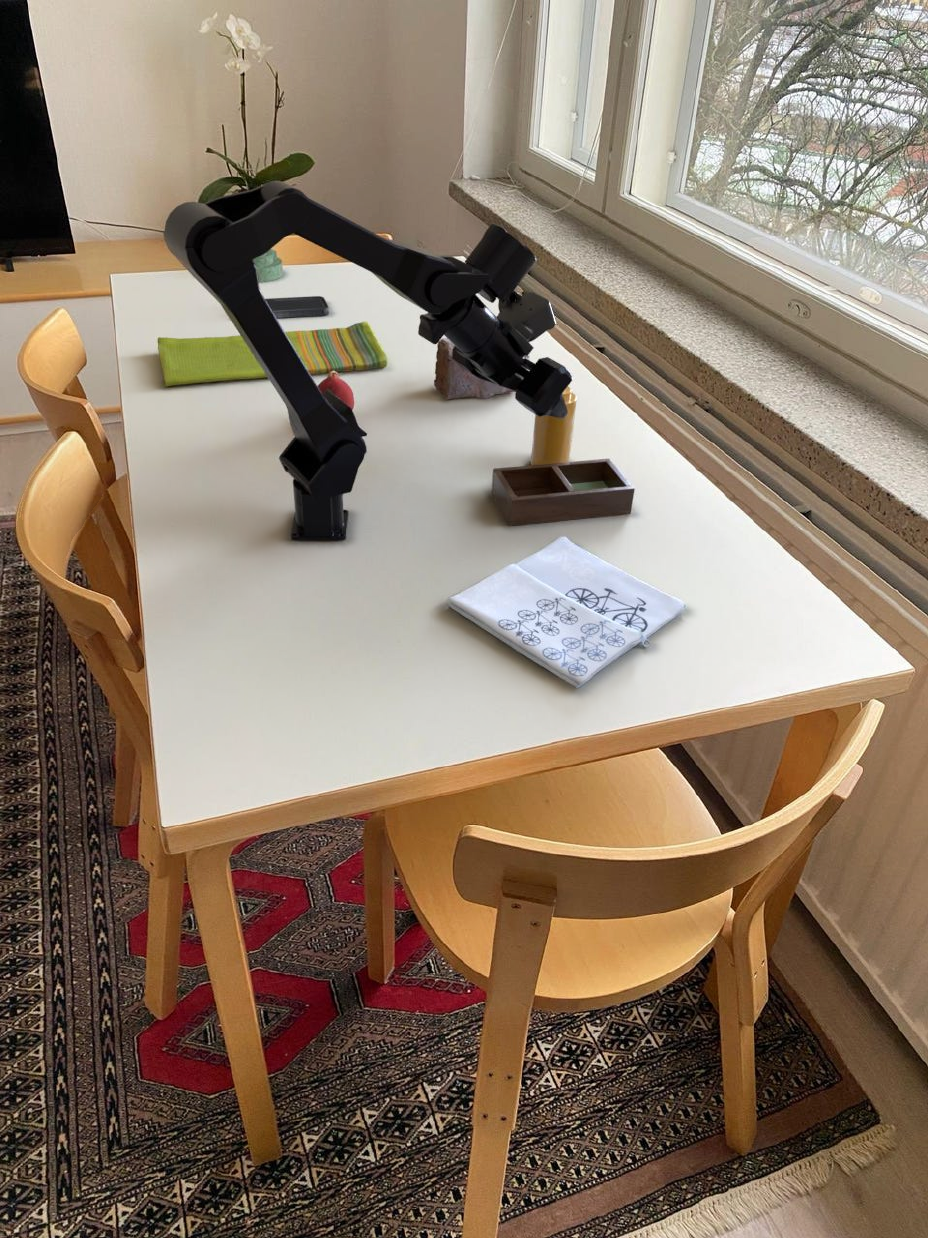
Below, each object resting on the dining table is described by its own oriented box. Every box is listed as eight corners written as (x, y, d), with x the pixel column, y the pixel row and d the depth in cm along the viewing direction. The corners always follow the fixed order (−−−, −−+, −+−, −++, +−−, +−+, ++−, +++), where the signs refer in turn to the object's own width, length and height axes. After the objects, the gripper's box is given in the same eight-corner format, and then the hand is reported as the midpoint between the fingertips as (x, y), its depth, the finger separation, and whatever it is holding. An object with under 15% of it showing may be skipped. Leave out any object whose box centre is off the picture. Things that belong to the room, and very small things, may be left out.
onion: (347, 435, 132) (345, 381, 127) (309, 430, 133) (305, 377, 128) (359, 418, 136) (358, 366, 132) (322, 414, 137) (319, 361, 132)
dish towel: (390, 369, 153) (390, 350, 151) (165, 389, 142) (162, 369, 141) (368, 337, 164) (367, 319, 162) (158, 353, 154) (155, 334, 152)
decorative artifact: (292, 276, 190) (267, 264, 196) (289, 240, 186) (264, 229, 192) (248, 284, 185) (224, 272, 191) (245, 248, 181) (220, 236, 187)
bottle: (571, 474, 126) (582, 382, 118) (532, 473, 125) (541, 381, 117) (565, 456, 130) (576, 366, 122) (528, 456, 129) (536, 366, 122)
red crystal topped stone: (509, 377, 152) (514, 317, 146) (529, 396, 146) (534, 334, 140) (430, 385, 148) (432, 324, 142) (448, 405, 142) (450, 342, 136)
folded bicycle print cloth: (441, 608, 100) (442, 591, 98) (564, 542, 111) (566, 527, 110) (578, 696, 89) (580, 678, 88) (697, 613, 101) (701, 597, 99)
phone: (329, 309, 172) (247, 313, 168) (329, 315, 172) (247, 319, 169) (322, 295, 178) (243, 299, 174) (323, 301, 178) (243, 305, 175)
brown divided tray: (491, 493, 120) (492, 468, 118) (605, 482, 124) (609, 458, 122) (510, 526, 114) (512, 500, 112) (630, 513, 118) (634, 488, 115)
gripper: (567, 299, 102) (630, 376, 114) (475, 255, 115) (540, 329, 126) (504, 380, 103) (572, 449, 115) (419, 328, 116) (489, 395, 127)
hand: (543, 401), depth 121 cm, fingers open, 9 cm apart
